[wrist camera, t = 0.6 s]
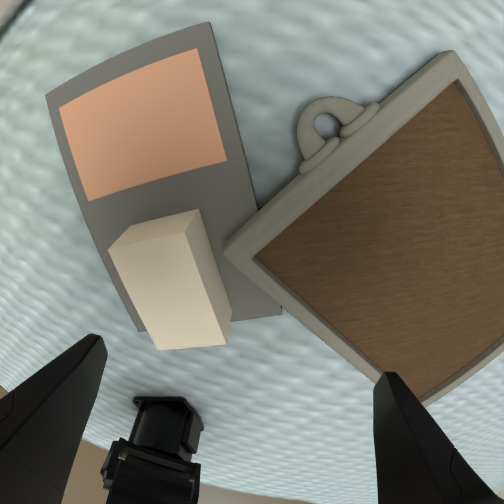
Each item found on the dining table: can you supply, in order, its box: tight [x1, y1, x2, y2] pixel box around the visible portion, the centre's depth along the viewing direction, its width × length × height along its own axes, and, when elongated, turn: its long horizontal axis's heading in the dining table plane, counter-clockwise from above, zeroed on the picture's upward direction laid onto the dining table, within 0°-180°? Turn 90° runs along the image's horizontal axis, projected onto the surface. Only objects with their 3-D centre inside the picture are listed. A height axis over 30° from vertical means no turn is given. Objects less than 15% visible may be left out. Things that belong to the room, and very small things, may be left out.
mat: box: [45, 21, 282, 332], centre depth 19 cm, size 12×20×1 cm, turn 13°
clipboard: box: [222, 50, 504, 407], centre depth 20 cm, size 19×2×30 cm
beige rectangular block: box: [108, 209, 232, 350], centre depth 20 cm, size 5×8×4 cm, turn 13°
